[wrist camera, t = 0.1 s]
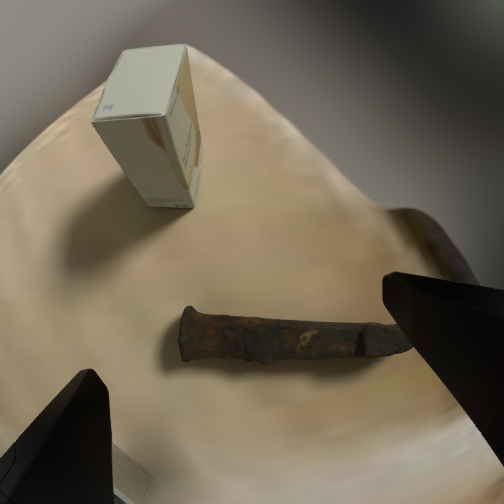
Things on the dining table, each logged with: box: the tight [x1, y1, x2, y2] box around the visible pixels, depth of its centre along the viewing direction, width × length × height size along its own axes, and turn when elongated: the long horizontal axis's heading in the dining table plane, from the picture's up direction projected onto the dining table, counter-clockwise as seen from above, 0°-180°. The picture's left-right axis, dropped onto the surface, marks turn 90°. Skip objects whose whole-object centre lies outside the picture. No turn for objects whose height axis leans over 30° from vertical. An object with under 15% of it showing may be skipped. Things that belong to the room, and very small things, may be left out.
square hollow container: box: [112, 442, 153, 504], centre depth 16 cm, size 5×5×5 cm
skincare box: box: [91, 45, 203, 208], centre depth 18 cm, size 6×4×12 cm
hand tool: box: [178, 306, 413, 364], centre depth 20 cm, size 19×4×5 cm, turn 84°
